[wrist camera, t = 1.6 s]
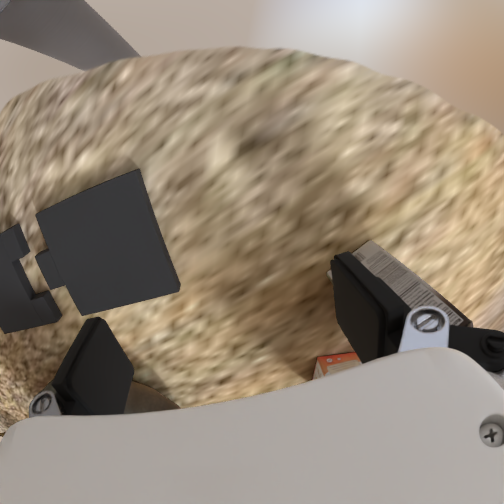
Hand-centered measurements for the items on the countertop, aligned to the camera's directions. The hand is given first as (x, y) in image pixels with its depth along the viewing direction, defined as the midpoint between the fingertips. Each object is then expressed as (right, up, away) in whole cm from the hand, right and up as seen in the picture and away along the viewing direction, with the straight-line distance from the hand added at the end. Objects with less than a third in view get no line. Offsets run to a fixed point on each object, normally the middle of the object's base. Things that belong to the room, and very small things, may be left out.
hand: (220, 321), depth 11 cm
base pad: (-29, -1, +15) cm, 32 cm away
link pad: (-14, +3, +15) cm, 21 cm away
